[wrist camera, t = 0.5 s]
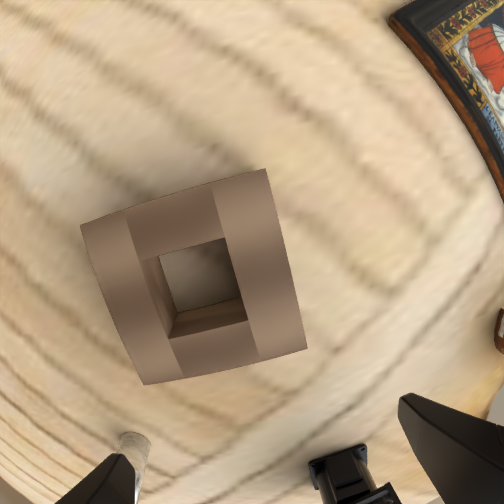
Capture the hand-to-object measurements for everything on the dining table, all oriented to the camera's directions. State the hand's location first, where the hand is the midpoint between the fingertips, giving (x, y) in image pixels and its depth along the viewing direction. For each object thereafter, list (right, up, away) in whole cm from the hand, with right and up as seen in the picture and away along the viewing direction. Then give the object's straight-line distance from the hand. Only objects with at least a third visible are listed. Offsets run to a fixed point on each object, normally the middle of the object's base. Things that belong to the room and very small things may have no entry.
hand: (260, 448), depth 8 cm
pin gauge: (-12, -13, +16) cm, 24 cm away
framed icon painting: (+34, +26, +12) cm, 44 cm away
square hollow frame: (-4, +4, +13) cm, 14 cm away
